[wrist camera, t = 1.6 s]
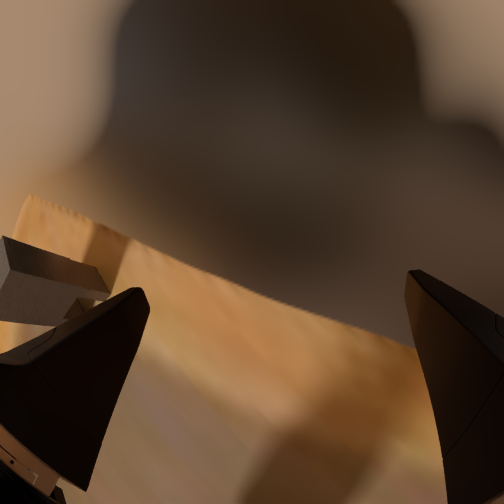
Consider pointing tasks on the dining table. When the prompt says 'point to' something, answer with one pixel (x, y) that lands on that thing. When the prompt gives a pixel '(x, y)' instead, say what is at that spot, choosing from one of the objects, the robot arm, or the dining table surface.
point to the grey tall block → (44, 285)
